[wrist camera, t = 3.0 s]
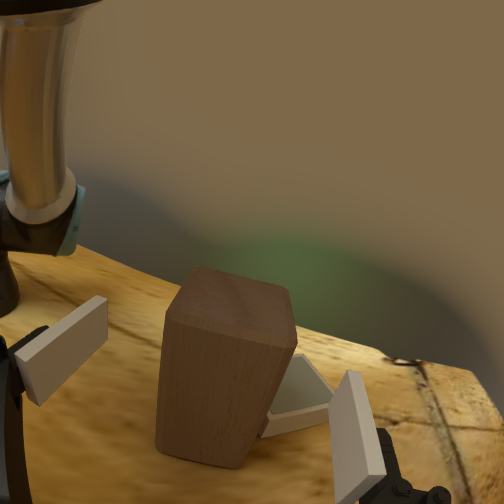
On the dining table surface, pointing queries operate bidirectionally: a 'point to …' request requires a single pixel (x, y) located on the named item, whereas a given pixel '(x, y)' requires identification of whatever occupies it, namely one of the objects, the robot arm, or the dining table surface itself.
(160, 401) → the block
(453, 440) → the dining table surface
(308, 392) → the tray
